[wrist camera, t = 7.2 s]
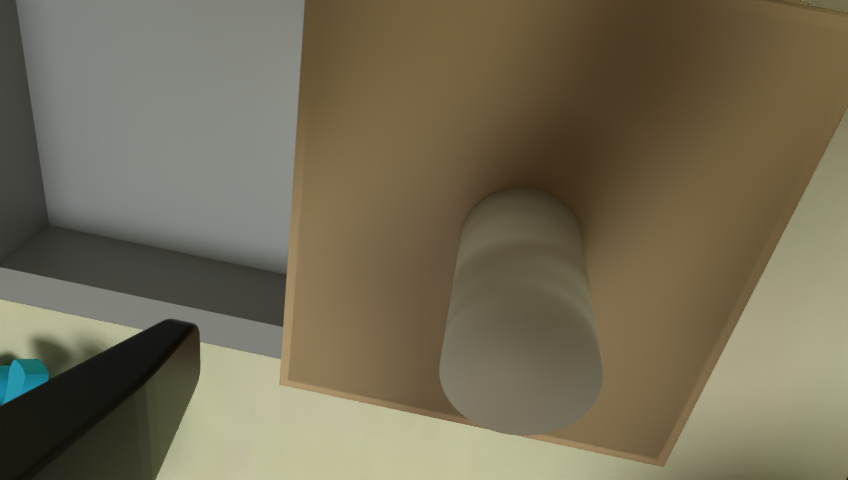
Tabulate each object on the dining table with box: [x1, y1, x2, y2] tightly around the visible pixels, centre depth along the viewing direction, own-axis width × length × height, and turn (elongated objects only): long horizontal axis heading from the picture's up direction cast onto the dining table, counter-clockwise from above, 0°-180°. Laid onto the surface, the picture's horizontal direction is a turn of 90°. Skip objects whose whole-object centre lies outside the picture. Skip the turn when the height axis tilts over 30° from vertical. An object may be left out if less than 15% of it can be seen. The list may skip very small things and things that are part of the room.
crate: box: [279, 0, 848, 467], centre depth 14 cm, size 9×10×9 cm
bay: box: [0, 0, 305, 359], centre depth 17 cm, size 20×14×5 cm
